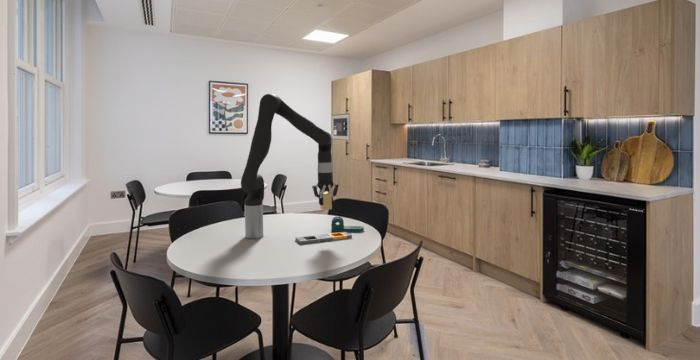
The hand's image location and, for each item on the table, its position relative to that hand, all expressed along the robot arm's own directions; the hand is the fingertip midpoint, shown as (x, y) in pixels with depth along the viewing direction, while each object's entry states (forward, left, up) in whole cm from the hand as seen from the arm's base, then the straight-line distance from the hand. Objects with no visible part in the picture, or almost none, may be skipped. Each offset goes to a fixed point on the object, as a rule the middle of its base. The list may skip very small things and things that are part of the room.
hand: (326, 204), depth 200 cm
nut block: (0, 0, -2) cm, 2 cm away
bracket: (-12, +18, -19) cm, 28 cm away
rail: (-1, -1, -18) cm, 18 cm away
